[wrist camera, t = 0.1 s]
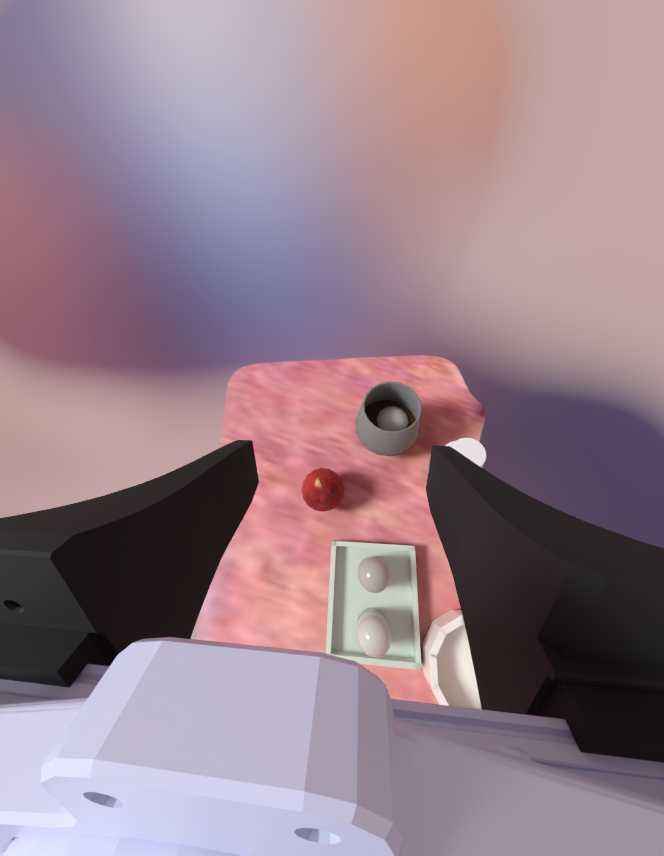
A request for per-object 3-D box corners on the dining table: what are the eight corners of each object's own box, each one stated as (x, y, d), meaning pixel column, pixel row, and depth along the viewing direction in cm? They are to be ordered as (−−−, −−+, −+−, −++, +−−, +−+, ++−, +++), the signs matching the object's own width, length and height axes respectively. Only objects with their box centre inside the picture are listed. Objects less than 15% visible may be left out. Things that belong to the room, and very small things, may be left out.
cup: (378, 399, 48) (383, 364, 39) (425, 430, 45) (443, 399, 36) (344, 439, 46) (341, 412, 37) (391, 474, 43) (401, 454, 34)
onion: (351, 487, 43) (350, 474, 35) (332, 521, 41) (326, 515, 34) (319, 469, 44) (312, 453, 37) (299, 501, 42) (287, 491, 35)
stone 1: (386, 589, 37) (392, 596, 31) (357, 586, 37) (357, 593, 31) (386, 557, 38) (391, 558, 32) (358, 555, 38) (358, 556, 33)
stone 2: (387, 645, 34) (394, 664, 28) (356, 642, 35) (356, 661, 29) (387, 609, 36) (393, 620, 30) (357, 606, 36) (357, 617, 30)
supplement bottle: (447, 498, 41) (472, 484, 32) (419, 471, 43) (436, 451, 34) (472, 474, 42) (503, 454, 33) (443, 449, 44) (466, 423, 35)
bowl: (527, 730, 31) (547, 751, 27) (426, 718, 32) (434, 737, 28) (508, 613, 35) (524, 620, 32) (419, 606, 36) (426, 611, 33)
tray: (418, 663, 34) (421, 670, 32) (326, 654, 35) (325, 660, 33) (412, 546, 39) (414, 545, 37) (332, 541, 40) (331, 540, 38)
